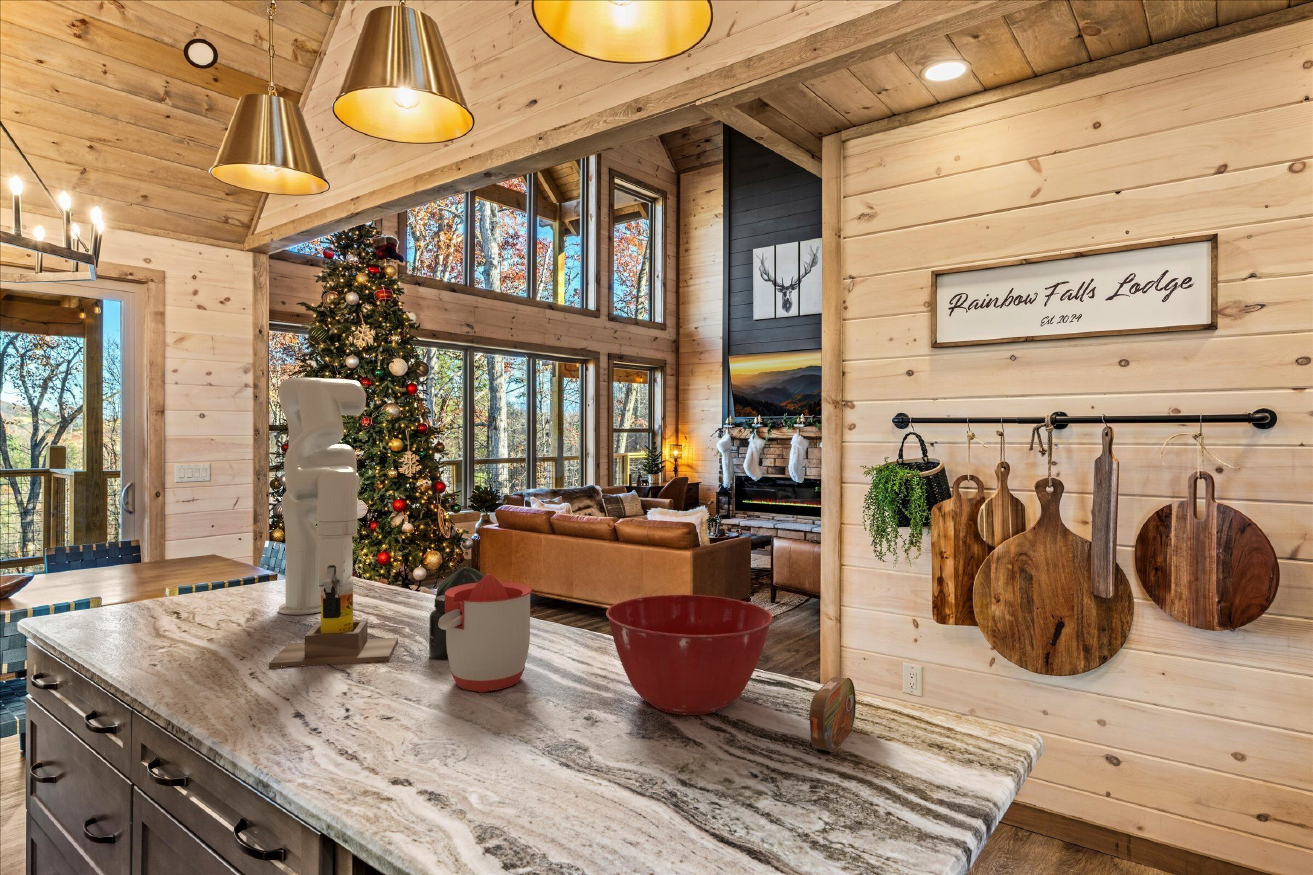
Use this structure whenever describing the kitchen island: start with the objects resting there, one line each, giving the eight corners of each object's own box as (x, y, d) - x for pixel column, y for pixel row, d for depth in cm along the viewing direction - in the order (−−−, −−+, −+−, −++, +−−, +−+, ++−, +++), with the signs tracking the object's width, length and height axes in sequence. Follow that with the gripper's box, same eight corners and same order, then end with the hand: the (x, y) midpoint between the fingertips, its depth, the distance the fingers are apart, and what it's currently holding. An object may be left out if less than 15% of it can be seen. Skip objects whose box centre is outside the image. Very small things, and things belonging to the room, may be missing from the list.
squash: (479, 590, 183) (448, 551, 174) (520, 601, 174) (490, 561, 165) (444, 636, 174) (410, 598, 166) (485, 650, 166) (451, 610, 157)
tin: (826, 761, 101) (827, 702, 101) (805, 756, 102) (805, 697, 102) (857, 724, 114) (858, 671, 113) (838, 720, 115) (838, 668, 115)
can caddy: (288, 648, 151) (288, 622, 151) (398, 642, 156) (398, 616, 156) (268, 668, 139) (268, 639, 138) (388, 660, 143) (388, 633, 143)
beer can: (344, 653, 144) (344, 579, 144) (315, 653, 144) (315, 579, 144) (358, 644, 150) (358, 573, 150) (329, 644, 150) (329, 573, 150)
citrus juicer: (419, 684, 130) (419, 575, 130) (499, 662, 143) (499, 562, 143) (466, 707, 119) (466, 588, 119) (548, 681, 132) (549, 573, 132)
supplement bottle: (421, 658, 145) (421, 599, 145) (443, 648, 151) (443, 592, 151) (449, 662, 143) (449, 602, 142) (470, 652, 149) (470, 595, 149)
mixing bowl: (684, 662, 143) (685, 585, 143) (805, 701, 123) (805, 612, 123) (572, 698, 124) (573, 609, 123) (694, 752, 103) (695, 646, 103)
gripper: (327, 523, 155) (327, 602, 155) (306, 535, 138) (306, 623, 138) (364, 523, 156) (364, 601, 156) (348, 534, 139) (348, 621, 140)
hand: (337, 611), depth 147 cm, fingers open, 9 cm apart
